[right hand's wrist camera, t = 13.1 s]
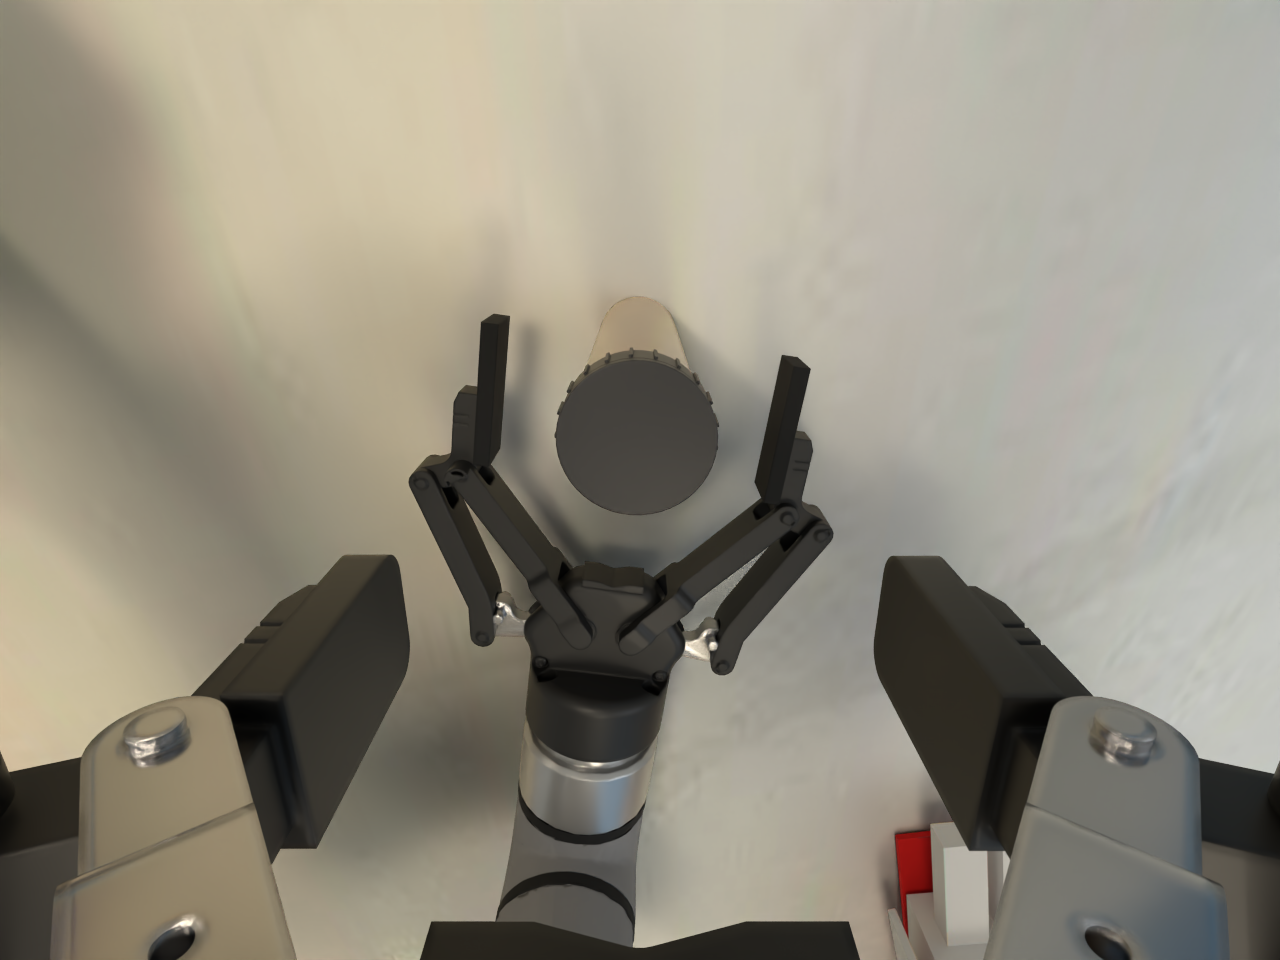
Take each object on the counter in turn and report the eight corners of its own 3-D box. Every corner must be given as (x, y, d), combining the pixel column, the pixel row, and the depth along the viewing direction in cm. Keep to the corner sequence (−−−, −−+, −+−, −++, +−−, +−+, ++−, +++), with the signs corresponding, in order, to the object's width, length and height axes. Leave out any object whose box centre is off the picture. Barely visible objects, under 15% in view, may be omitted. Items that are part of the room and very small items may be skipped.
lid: (529, 443, 21) (521, 461, 20) (616, 314, 20) (614, 322, 18) (655, 523, 22) (656, 546, 21) (745, 405, 21) (754, 420, 19)
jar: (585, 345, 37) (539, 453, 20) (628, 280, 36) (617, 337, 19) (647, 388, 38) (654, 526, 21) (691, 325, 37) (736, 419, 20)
